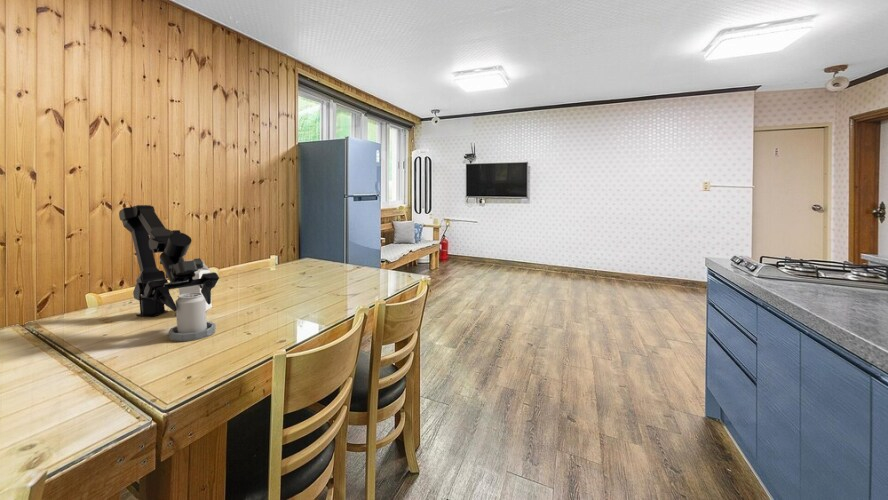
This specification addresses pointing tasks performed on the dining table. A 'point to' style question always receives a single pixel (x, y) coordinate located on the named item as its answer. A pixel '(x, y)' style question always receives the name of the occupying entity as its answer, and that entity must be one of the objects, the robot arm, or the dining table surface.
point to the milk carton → (197, 288)
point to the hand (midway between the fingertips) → (193, 306)
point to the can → (191, 313)
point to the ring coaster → (192, 336)
